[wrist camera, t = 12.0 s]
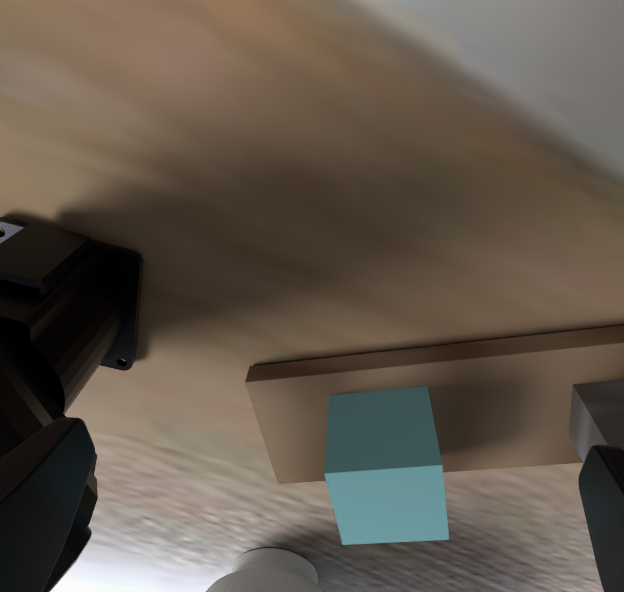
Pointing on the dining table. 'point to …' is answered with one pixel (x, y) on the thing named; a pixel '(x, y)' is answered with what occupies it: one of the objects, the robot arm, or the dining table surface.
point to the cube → (385, 467)
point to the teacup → (269, 573)
